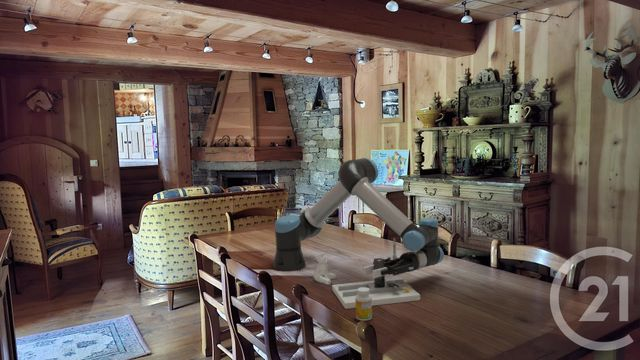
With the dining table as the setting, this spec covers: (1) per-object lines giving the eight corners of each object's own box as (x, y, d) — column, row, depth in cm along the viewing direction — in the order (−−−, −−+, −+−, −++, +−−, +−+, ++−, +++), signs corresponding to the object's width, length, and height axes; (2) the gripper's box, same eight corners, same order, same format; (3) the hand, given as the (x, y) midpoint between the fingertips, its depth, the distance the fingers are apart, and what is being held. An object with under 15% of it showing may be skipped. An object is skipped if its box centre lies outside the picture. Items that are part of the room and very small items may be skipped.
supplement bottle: (354, 315, 148) (353, 287, 148) (370, 314, 149) (369, 286, 148) (357, 321, 143) (356, 292, 142) (373, 320, 144) (373, 291, 143)
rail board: (345, 308, 154) (345, 298, 154) (332, 289, 174) (332, 280, 173) (420, 300, 160) (420, 289, 159) (399, 282, 179) (399, 273, 179)
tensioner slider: (376, 297, 159) (375, 266, 158) (367, 288, 168) (366, 258, 167) (404, 293, 161) (404, 263, 160) (394, 285, 170) (394, 256, 169)
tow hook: (385, 261, 211) (385, 266, 202) (385, 234, 211) (385, 238, 201) (403, 261, 210) (404, 266, 201) (403, 234, 209) (403, 238, 200)
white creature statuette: (329, 285, 179) (328, 256, 178) (309, 283, 182) (308, 255, 181) (336, 278, 188) (335, 250, 187) (317, 276, 191) (316, 249, 190)
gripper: (429, 275, 170) (385, 288, 156) (396, 265, 184) (353, 277, 170) (429, 256, 169) (385, 268, 155) (396, 247, 183) (353, 258, 169)
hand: (368, 272), depth 163 cm, fingers open, 4 cm apart
